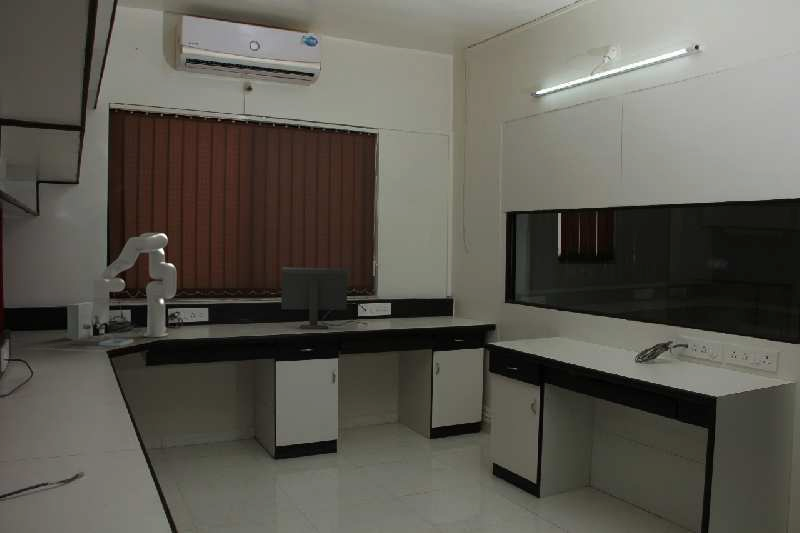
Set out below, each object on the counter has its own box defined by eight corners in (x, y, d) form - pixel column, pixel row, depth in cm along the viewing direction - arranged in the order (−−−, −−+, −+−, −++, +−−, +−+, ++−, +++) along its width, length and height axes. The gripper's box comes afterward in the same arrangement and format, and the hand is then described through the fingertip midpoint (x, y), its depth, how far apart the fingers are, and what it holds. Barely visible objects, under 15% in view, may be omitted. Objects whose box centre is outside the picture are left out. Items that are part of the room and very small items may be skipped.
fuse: (85, 341, 328) (85, 324, 328) (92, 341, 328) (92, 324, 327) (81, 342, 324) (81, 325, 324) (88, 342, 324) (88, 325, 324)
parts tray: (112, 343, 330) (113, 338, 330) (133, 343, 330) (133, 339, 329) (99, 347, 316) (99, 342, 316) (120, 348, 316) (120, 343, 315)
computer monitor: (346, 326, 427) (347, 268, 426) (346, 329, 411) (347, 269, 410) (282, 325, 424) (283, 267, 423) (279, 328, 408) (280, 267, 407)
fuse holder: (87, 341, 334) (88, 334, 334) (115, 342, 333) (115, 335, 333) (71, 346, 318) (71, 338, 318) (99, 346, 317) (99, 339, 317)
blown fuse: (99, 341, 328) (99, 324, 327) (106, 342, 327) (106, 325, 327) (95, 342, 324) (95, 325, 324) (102, 343, 324) (102, 325, 323)
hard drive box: (90, 337, 350) (90, 301, 349) (100, 338, 347) (101, 302, 347) (66, 340, 335) (67, 303, 335) (77, 341, 333) (78, 304, 332)
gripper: (102, 300, 334) (102, 332, 334) (85, 303, 317) (84, 336, 317) (116, 300, 334) (116, 332, 334) (99, 303, 316) (99, 337, 317)
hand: (100, 334), depth 325 cm, fingers open, 9 cm apart
